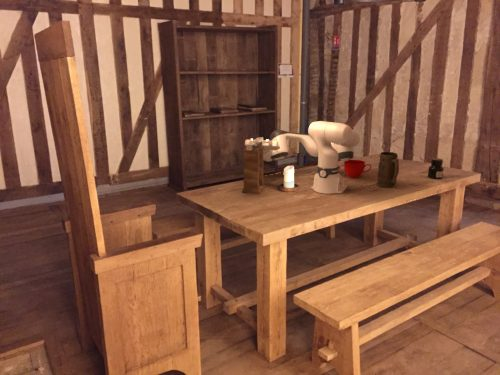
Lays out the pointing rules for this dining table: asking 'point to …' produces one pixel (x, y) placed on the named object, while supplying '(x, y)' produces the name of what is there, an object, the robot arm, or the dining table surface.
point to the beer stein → (387, 170)
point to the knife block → (253, 169)
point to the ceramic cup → (355, 168)
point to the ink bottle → (436, 169)
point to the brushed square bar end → (254, 143)
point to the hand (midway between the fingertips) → (259, 140)
